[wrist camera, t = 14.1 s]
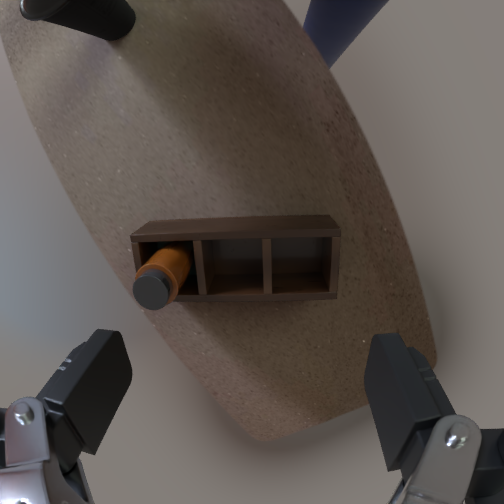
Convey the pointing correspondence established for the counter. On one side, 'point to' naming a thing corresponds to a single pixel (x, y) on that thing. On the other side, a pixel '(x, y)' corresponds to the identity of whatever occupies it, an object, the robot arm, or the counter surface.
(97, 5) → the drinking cup
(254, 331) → the counter surface
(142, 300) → the spice bottle
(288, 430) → the counter surface
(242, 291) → the holder
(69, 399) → the robot arm
